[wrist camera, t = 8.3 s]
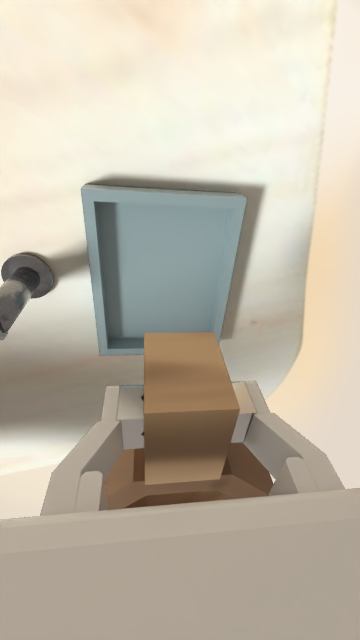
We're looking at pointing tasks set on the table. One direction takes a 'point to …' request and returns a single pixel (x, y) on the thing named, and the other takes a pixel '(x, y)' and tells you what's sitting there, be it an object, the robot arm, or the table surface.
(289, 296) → the table surface
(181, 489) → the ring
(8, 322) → the stake
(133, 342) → the tray
